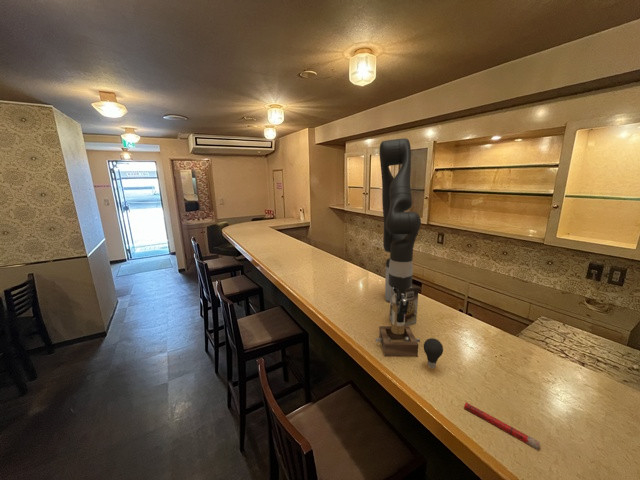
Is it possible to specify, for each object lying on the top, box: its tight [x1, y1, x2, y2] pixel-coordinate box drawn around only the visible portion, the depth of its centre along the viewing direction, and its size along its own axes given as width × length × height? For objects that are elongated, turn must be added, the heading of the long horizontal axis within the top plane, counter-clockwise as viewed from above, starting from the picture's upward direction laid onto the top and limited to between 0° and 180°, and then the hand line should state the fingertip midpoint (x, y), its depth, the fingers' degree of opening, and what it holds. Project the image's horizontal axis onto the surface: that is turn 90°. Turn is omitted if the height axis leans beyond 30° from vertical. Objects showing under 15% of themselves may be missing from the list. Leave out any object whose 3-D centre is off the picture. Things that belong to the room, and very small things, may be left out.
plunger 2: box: [403, 336, 421, 343], centre depth 91 cm, size 2×5×2 cm, turn 87°
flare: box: [464, 402, 541, 451], centre depth 62 cm, size 2×15×2 cm, turn 44°
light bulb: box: [423, 337, 444, 369], centre depth 80 cm, size 6×6×10 cm
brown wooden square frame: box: [378, 325, 419, 358], centre depth 92 cm, size 11×11×5 cm
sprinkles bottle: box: [391, 295, 405, 335], centre depth 89 cm, size 5×5×14 cm
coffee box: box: [388, 283, 420, 326], centre depth 105 cm, size 9×6×16 cm
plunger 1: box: [375, 337, 392, 343], centre depth 92 cm, size 2×5×2 cm, turn 87°
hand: (398, 317), depth 89 cm, fingers closed on sprinkles bottle, 4 cm apart
